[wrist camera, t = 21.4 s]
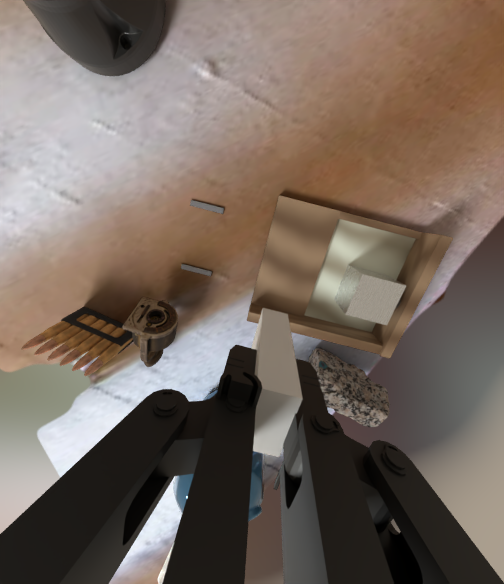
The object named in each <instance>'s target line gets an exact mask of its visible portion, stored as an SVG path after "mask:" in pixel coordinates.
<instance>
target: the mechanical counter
mask: <svg viewBox="0 0 504 584" xmlns="http://www.w3.org/2000/svg"><path fill="white" fill-rule="evenodd" d="M177 324H178V314H177V312H176V310H175V309H174V308H173V307H172V306H171V305H169V302H168V301H166V300H162V301H157V300H153V299H150V298H147V297H142V299H141V300H140V301H139V303H138V304H137V306H136V307H135V309H134V310H133V312H132V313H131V315H130V316H129V317H128V319H127V320H126V322H125V323H124V325H123V329H124V330H128V331H131V332H132V338H133V341H134V343H135V344H136V345H137V346H138V347H139V348H140V358H141V360H142V361H143V362H144V363H145V365H146V366H147V367H151V366H153V365H154V364H156V363H157V362H158V361H159V359H160V358H161V356H162V354H163V349H164V348H166V347H168V346H169V345H170V344H171V343H172V342H173V340H174V338H175V334H176V328H177Z"/></svg>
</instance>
